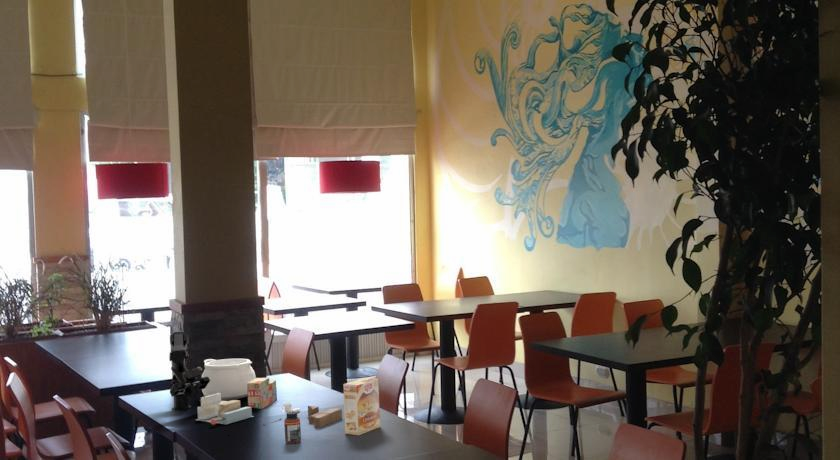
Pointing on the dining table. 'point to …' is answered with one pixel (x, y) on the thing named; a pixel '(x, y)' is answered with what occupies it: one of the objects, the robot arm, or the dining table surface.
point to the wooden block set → (323, 416)
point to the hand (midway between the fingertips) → (199, 400)
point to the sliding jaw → (209, 406)
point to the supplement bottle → (292, 428)
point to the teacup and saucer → (288, 407)
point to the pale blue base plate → (231, 416)
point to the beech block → (228, 407)
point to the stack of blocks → (261, 392)
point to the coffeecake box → (361, 406)
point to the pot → (228, 377)
